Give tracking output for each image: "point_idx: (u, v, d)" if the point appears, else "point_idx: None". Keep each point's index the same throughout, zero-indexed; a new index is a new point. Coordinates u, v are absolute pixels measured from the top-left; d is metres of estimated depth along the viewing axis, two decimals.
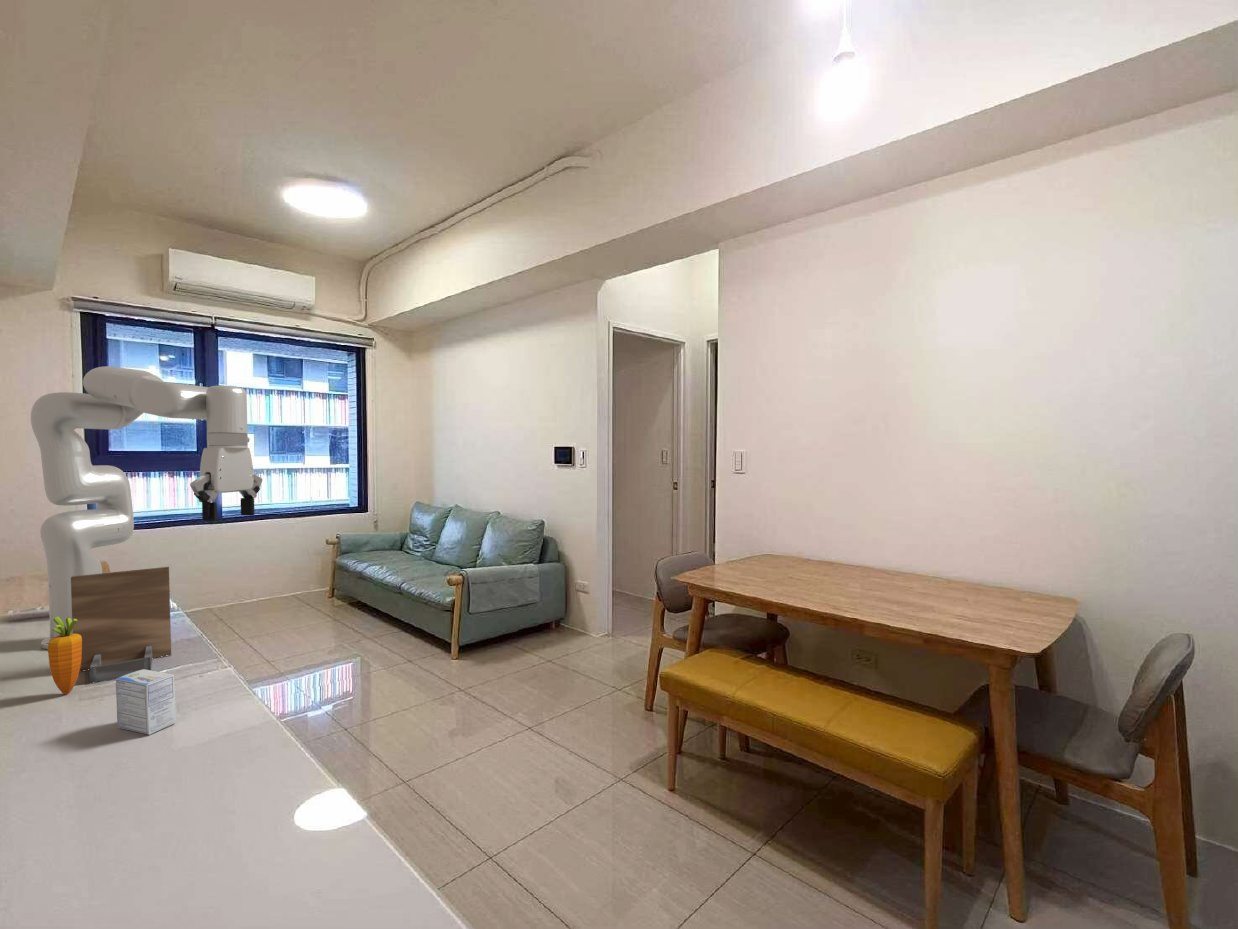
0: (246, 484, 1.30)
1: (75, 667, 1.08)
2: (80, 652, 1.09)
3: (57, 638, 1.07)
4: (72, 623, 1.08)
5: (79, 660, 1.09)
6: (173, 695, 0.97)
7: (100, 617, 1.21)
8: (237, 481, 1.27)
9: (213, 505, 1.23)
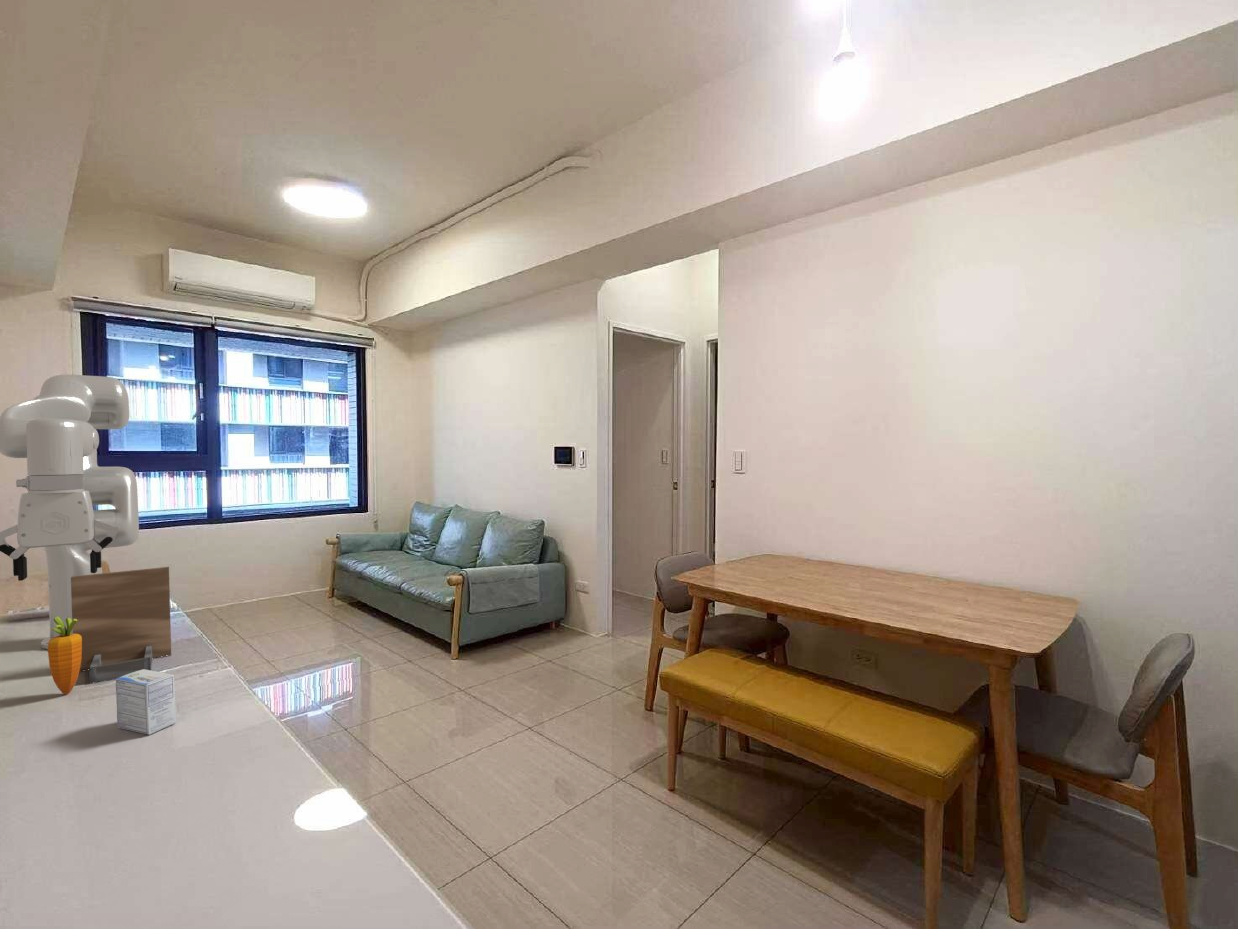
0: None
1: (75, 667, 1.08)
2: (80, 652, 1.09)
3: (57, 638, 1.07)
4: (72, 623, 1.08)
5: (79, 660, 1.09)
6: (173, 695, 0.97)
7: (100, 617, 1.21)
8: None
9: None
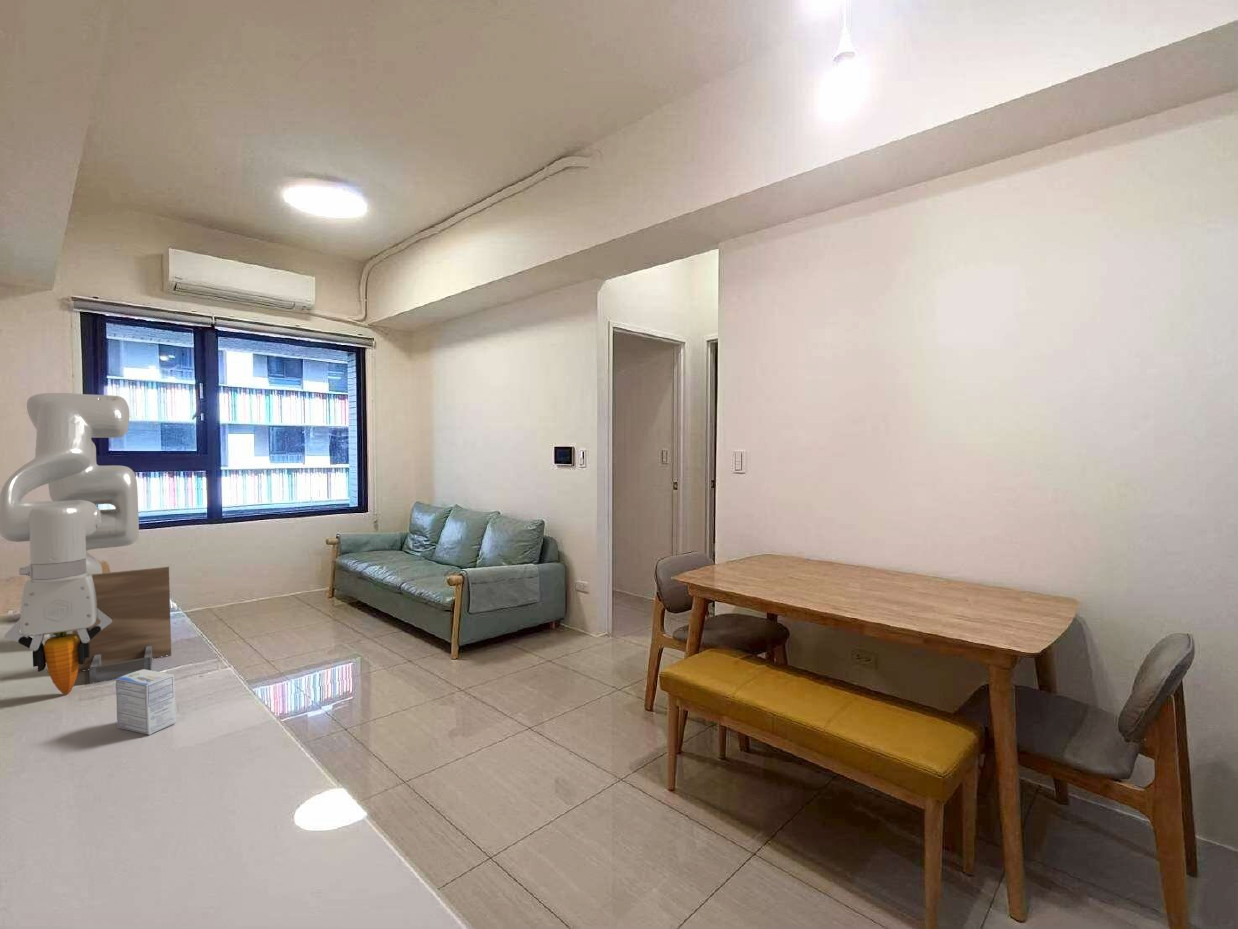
0: None
1: (73, 667, 1.08)
2: (77, 652, 1.09)
3: (52, 639, 1.07)
4: None
5: (77, 660, 1.09)
6: (173, 695, 0.97)
7: None
8: None
9: None
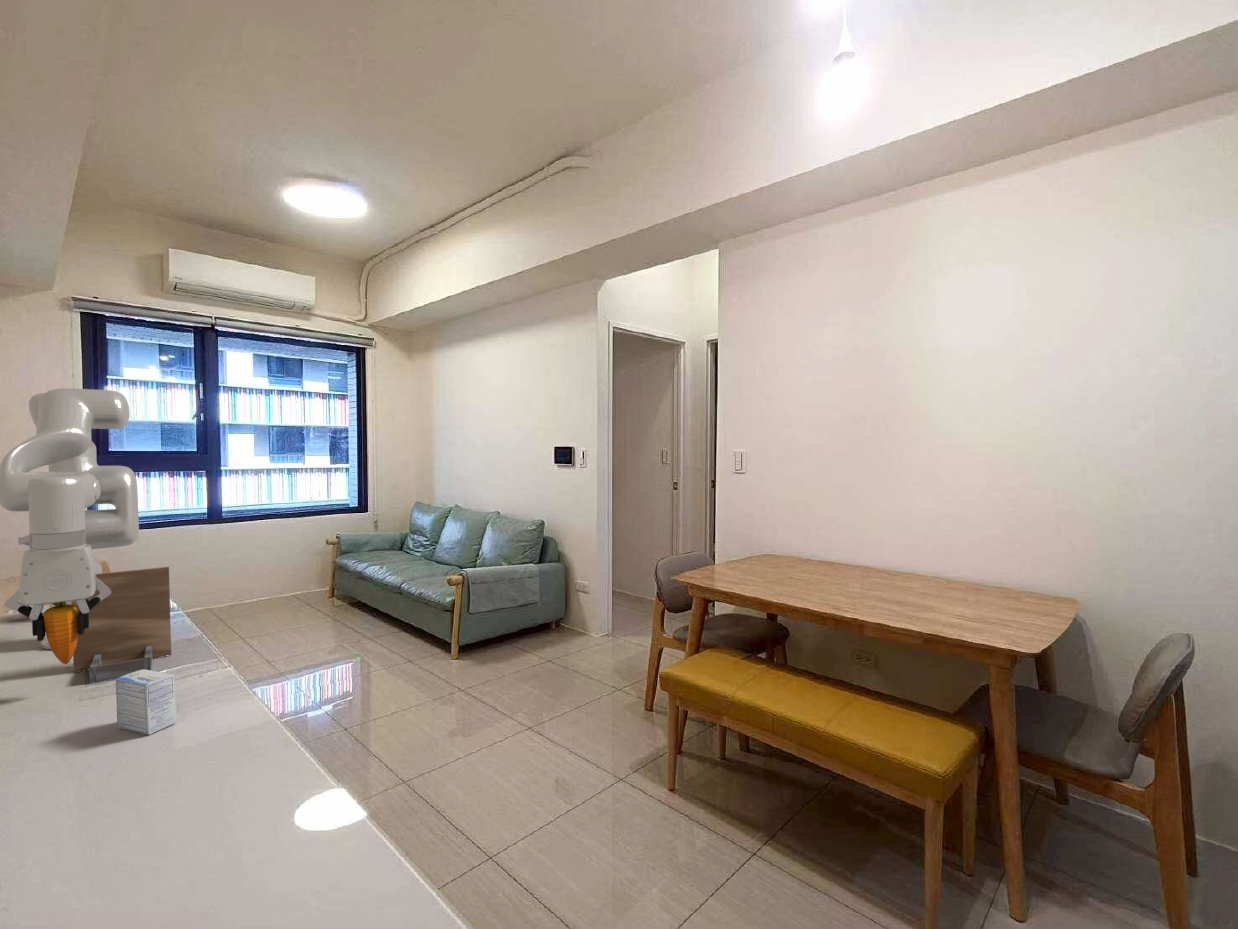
0: None
1: (72, 637, 1.09)
2: (76, 622, 1.09)
3: (52, 609, 1.07)
4: None
5: (76, 630, 1.09)
6: (173, 695, 0.97)
7: (100, 617, 1.21)
8: None
9: None
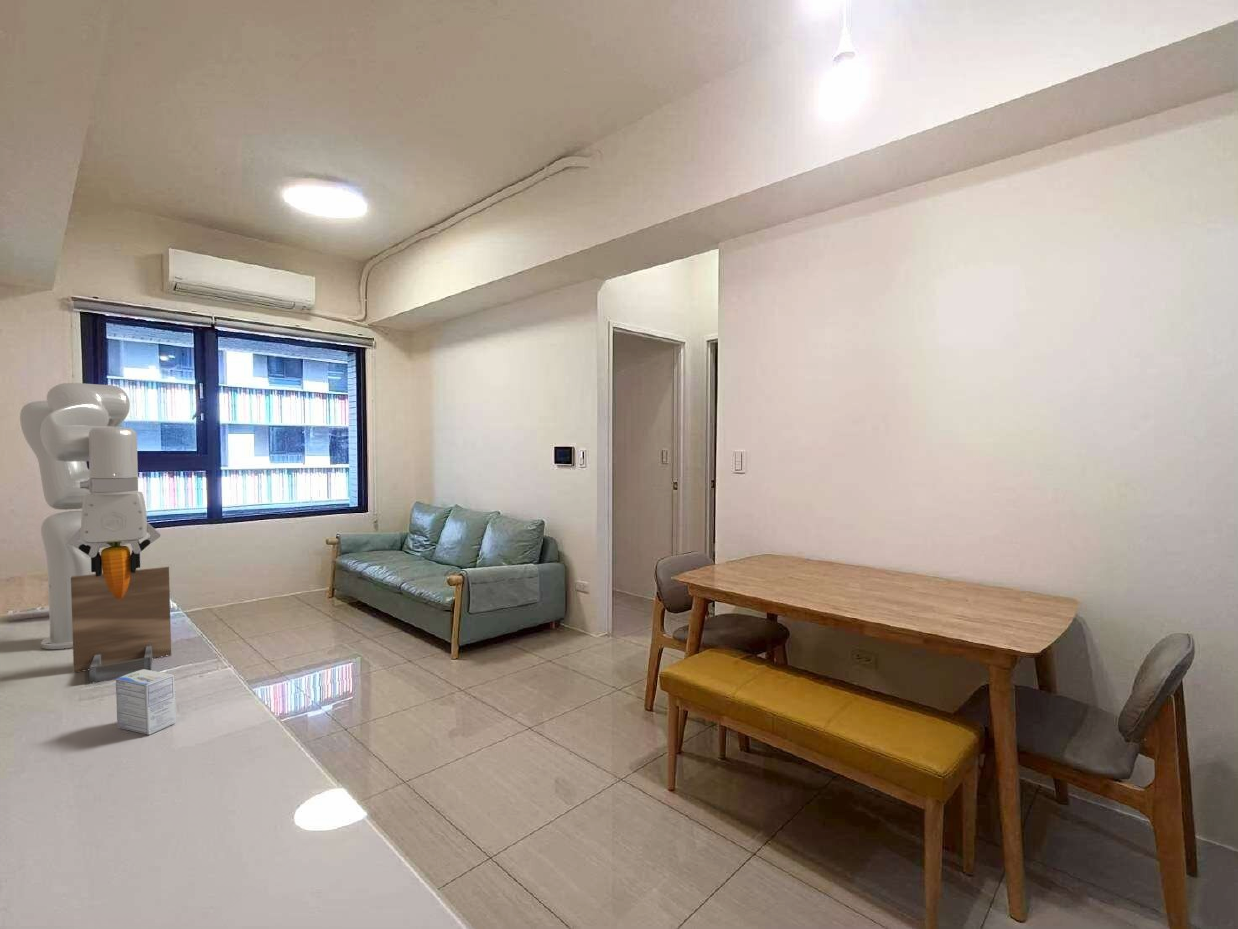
0: None
1: (126, 575, 1.19)
2: (129, 562, 1.20)
3: (108, 548, 1.18)
4: None
5: (129, 569, 1.20)
6: (173, 695, 0.97)
7: (100, 617, 1.21)
8: None
9: None
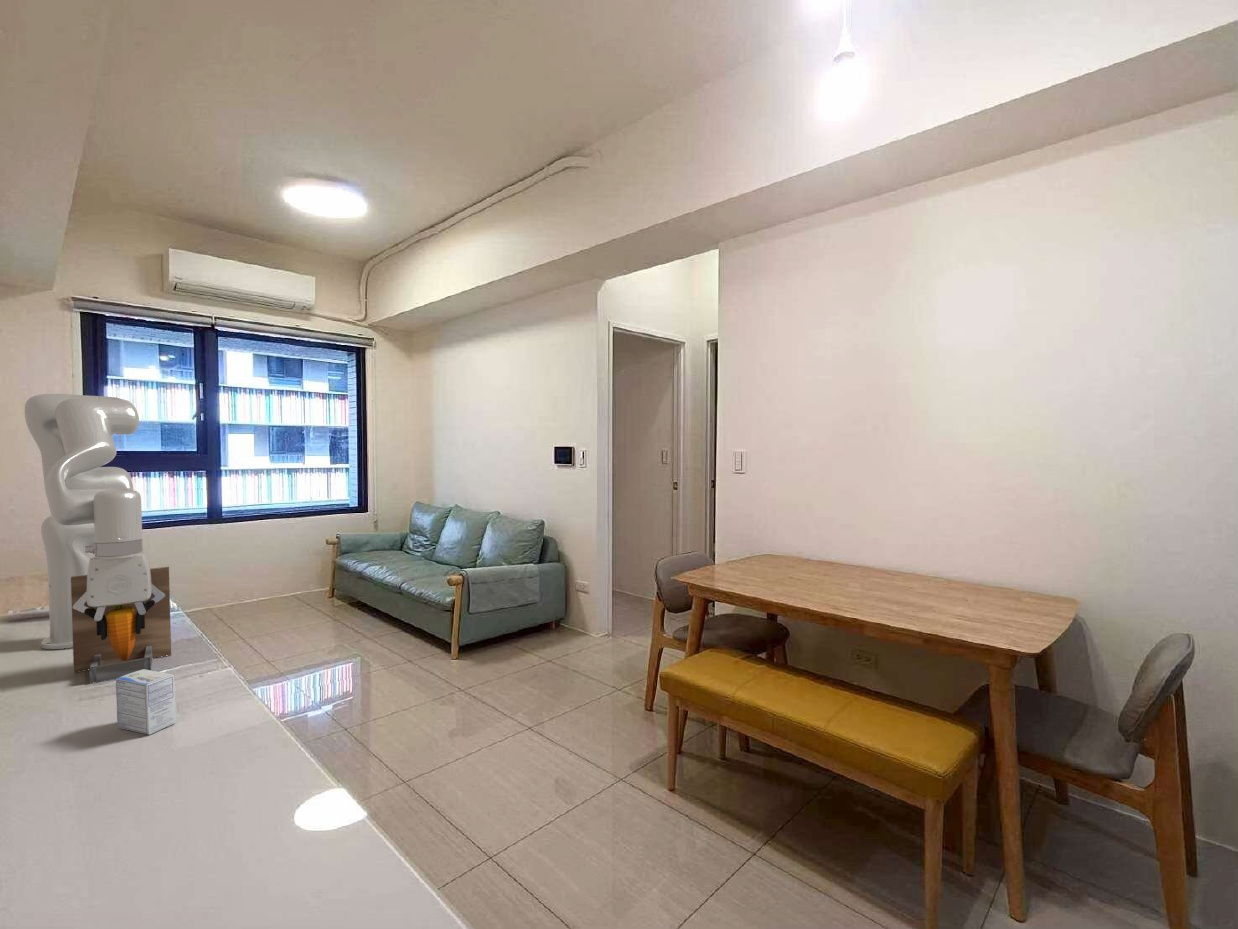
0: None
1: (131, 636, 1.20)
2: (134, 623, 1.21)
3: (113, 611, 1.19)
4: None
5: (134, 630, 1.21)
6: (173, 695, 0.97)
7: None
8: None
9: None
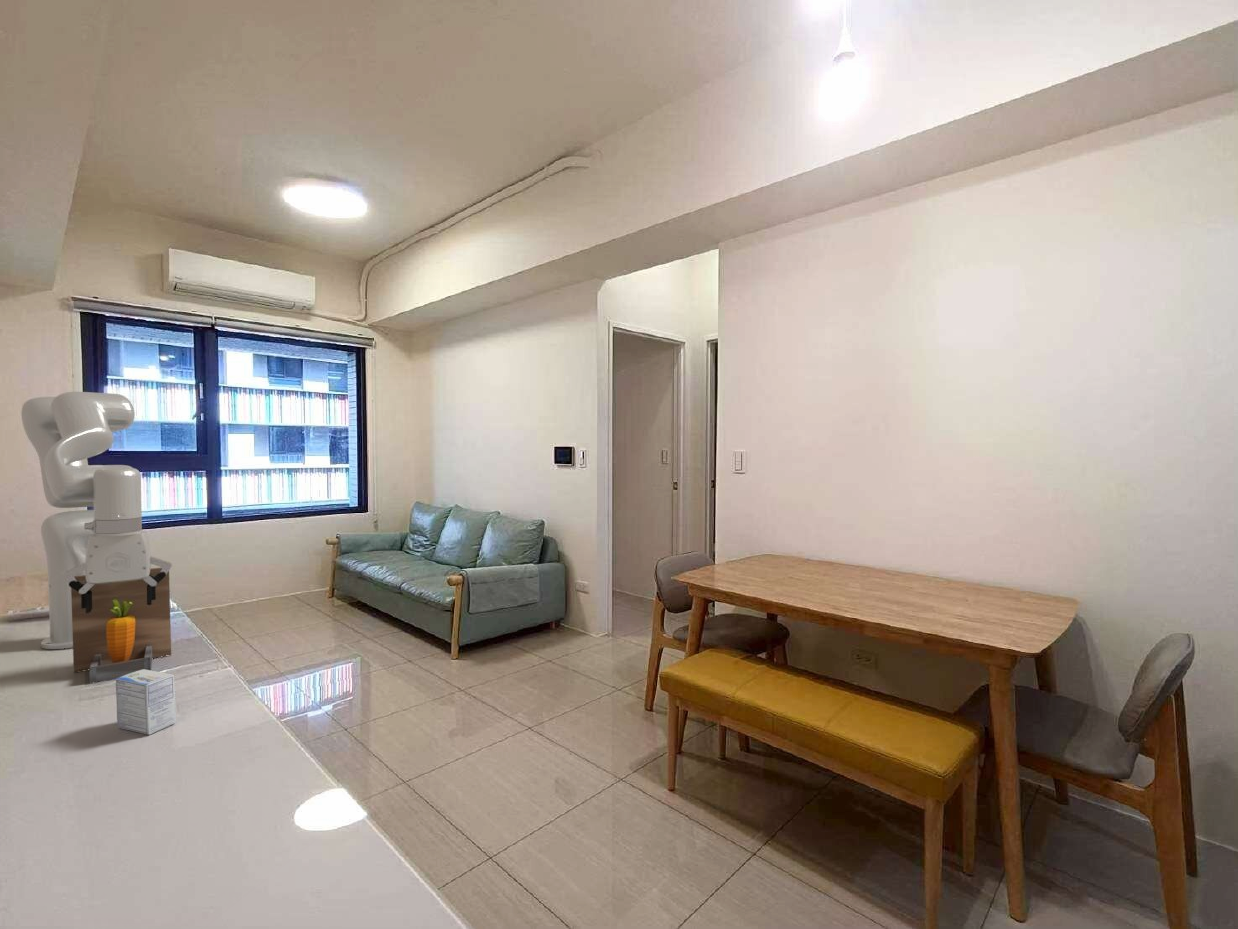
0: None
1: (129, 645, 1.20)
2: (133, 632, 1.21)
3: (114, 619, 1.19)
4: (128, 605, 1.20)
5: (132, 639, 1.21)
6: (173, 695, 0.97)
7: (100, 617, 1.21)
8: None
9: None
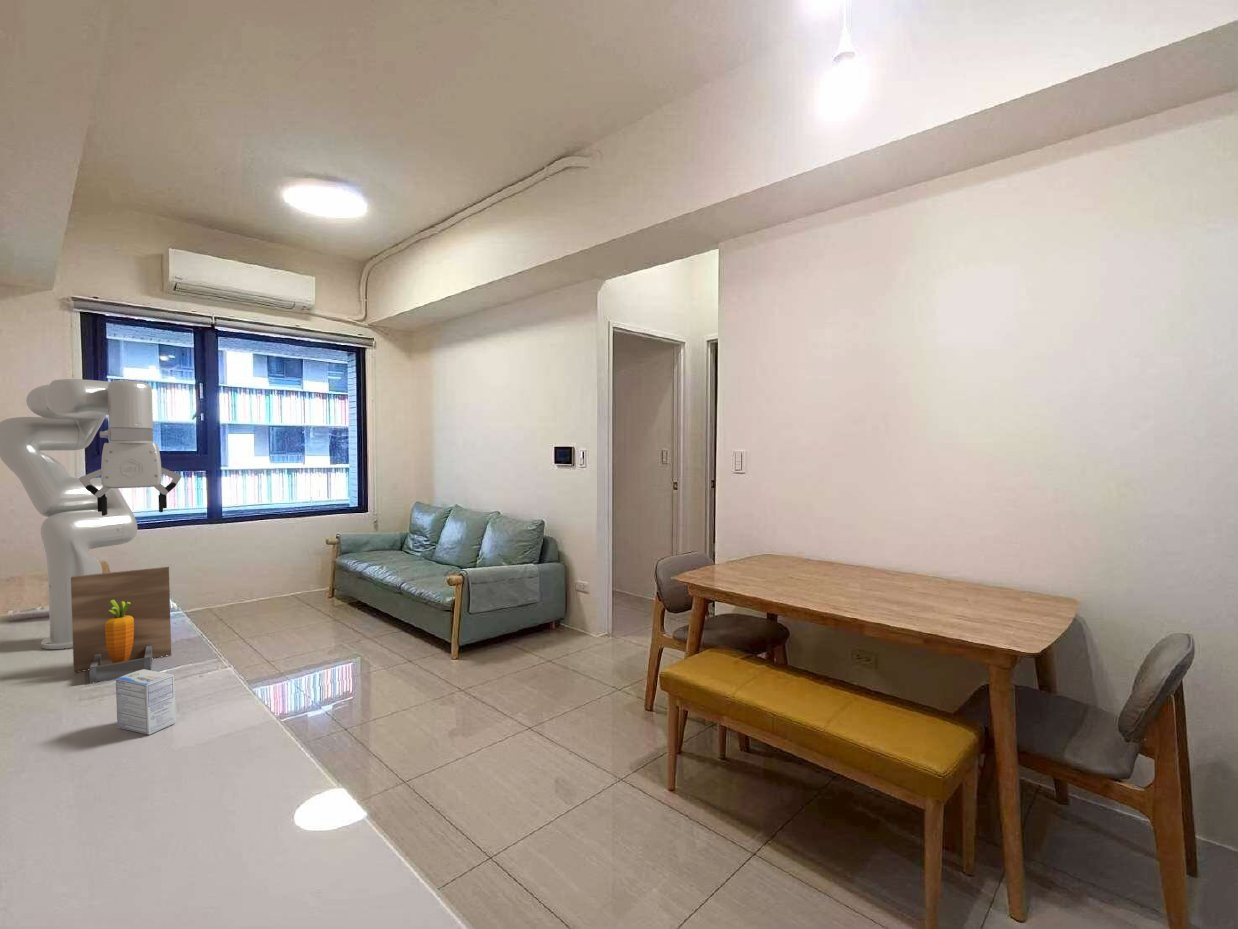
0: None
1: (128, 645, 1.20)
2: (132, 632, 1.21)
3: (113, 619, 1.19)
4: (126, 606, 1.20)
5: (132, 639, 1.21)
6: (173, 695, 0.97)
7: (100, 617, 1.21)
8: None
9: None
